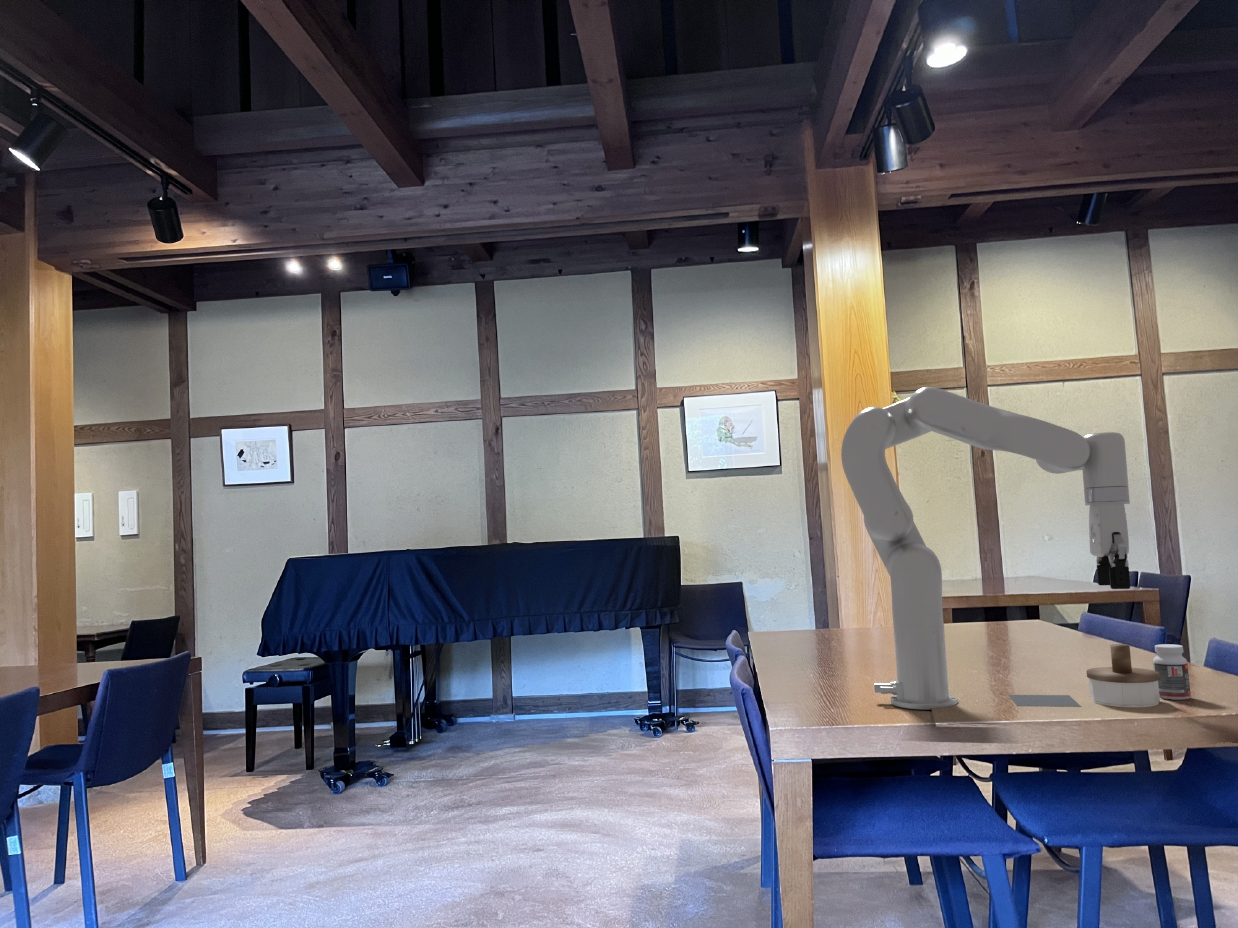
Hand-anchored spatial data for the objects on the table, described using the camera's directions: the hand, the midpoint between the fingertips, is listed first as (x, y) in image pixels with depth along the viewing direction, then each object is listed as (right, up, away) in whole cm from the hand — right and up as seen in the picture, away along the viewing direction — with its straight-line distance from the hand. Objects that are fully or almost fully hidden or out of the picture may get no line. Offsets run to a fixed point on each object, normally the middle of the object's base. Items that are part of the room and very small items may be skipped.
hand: (1113, 586), depth 168 cm
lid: (+1, -17, -1) cm, 17 cm away
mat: (-12, -23, +2) cm, 26 cm away
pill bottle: (+13, -22, +2) cm, 25 cm away
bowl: (+1, -22, -2) cm, 22 cm away
